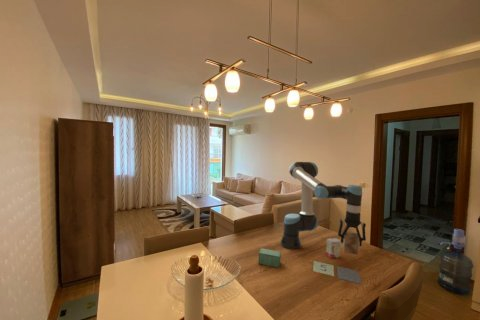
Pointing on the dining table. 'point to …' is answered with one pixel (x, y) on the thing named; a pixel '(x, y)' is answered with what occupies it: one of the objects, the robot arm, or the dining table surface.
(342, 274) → the mat
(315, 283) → the dining table surface
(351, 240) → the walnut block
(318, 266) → the tile
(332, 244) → the ink box
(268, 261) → the box
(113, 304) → the dining table surface
